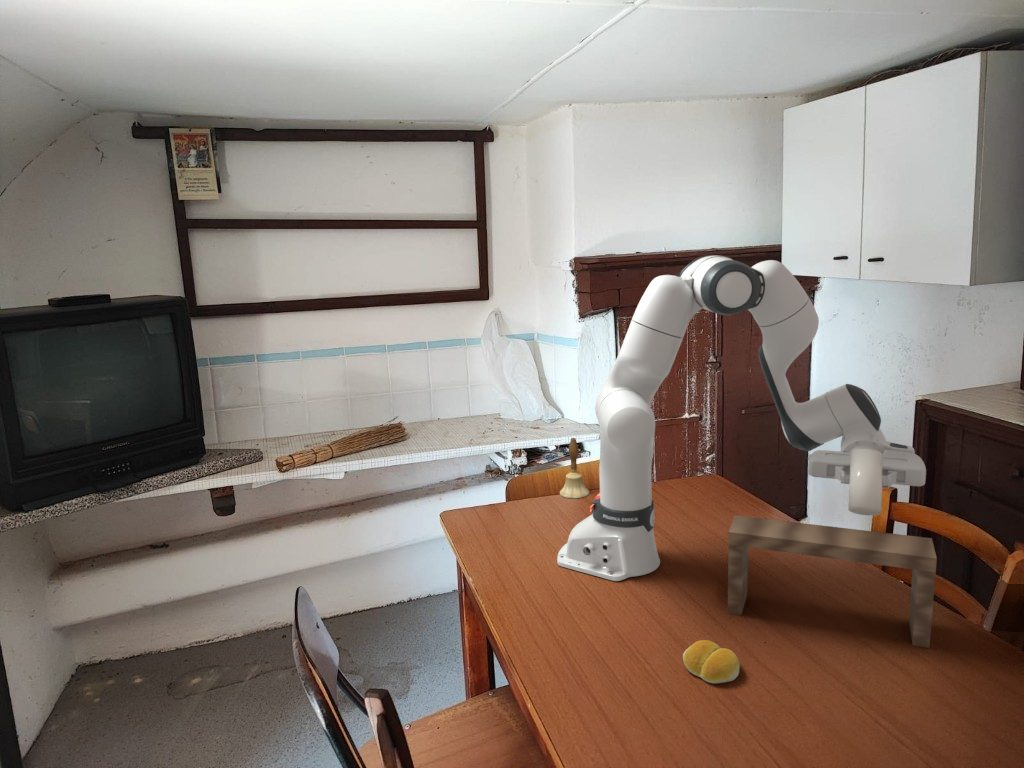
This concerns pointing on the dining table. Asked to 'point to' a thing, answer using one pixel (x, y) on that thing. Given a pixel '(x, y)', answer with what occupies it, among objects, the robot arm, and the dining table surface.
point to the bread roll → (711, 662)
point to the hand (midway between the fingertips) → (865, 481)
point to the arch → (837, 546)
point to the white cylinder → (865, 482)
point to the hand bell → (574, 476)
